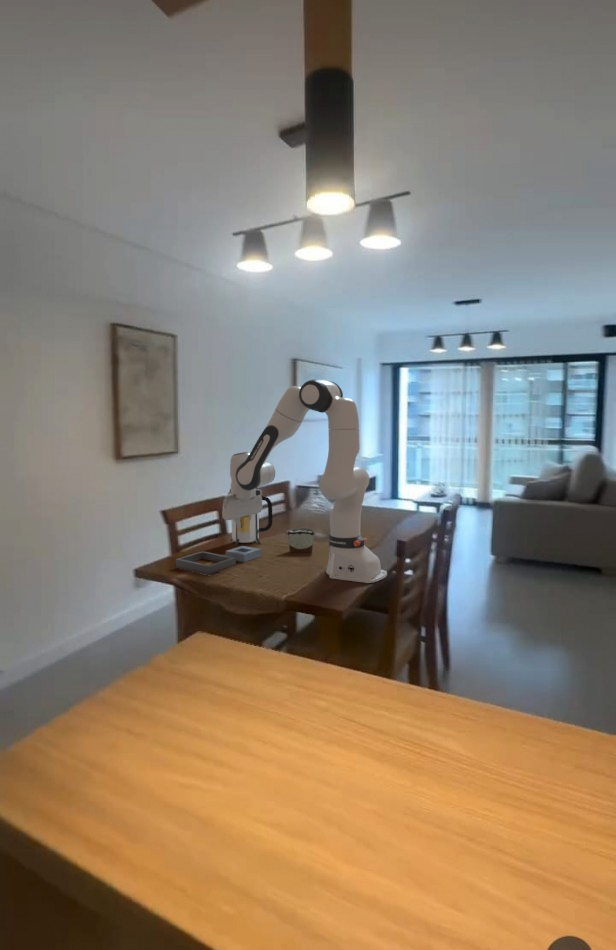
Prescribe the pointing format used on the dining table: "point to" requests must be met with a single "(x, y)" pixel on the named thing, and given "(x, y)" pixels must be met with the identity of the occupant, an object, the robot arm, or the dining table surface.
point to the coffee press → (253, 525)
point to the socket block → (244, 553)
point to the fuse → (244, 528)
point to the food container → (300, 539)
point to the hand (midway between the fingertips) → (243, 527)
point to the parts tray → (189, 565)
